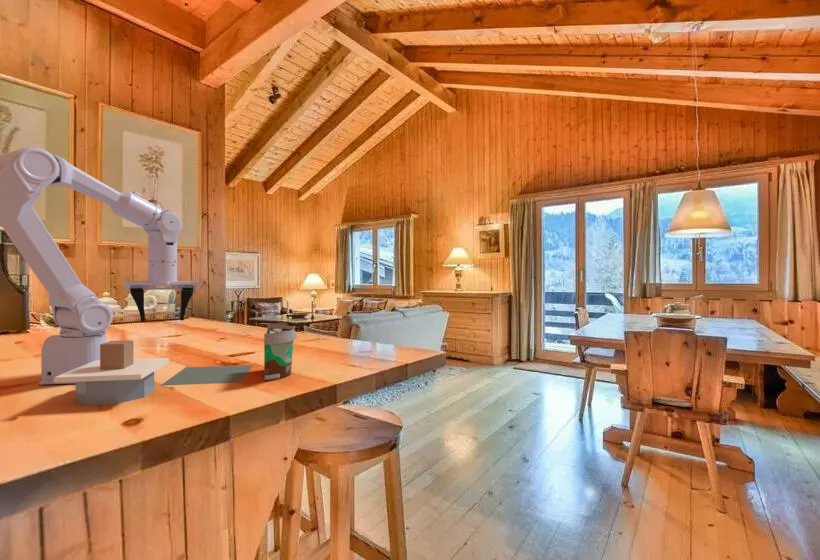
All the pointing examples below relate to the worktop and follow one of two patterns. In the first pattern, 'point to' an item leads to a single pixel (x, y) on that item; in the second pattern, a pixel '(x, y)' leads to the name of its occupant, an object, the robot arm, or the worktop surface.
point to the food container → (278, 352)
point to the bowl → (113, 390)
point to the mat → (209, 375)
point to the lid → (114, 365)
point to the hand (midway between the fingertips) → (162, 320)
